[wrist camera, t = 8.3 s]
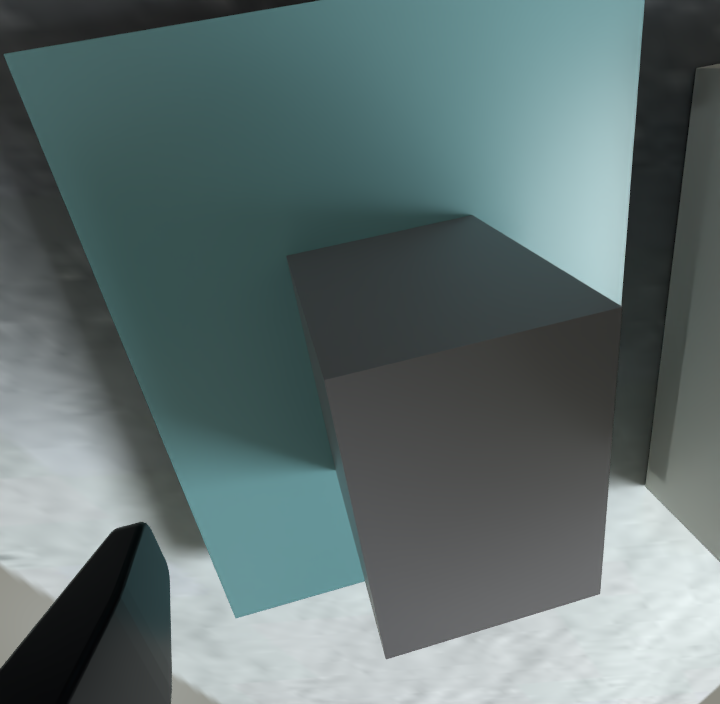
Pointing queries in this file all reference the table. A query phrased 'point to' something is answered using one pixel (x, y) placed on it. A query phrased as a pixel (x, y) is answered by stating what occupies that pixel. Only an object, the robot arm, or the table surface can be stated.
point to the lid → (367, 286)
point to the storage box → (693, 336)
